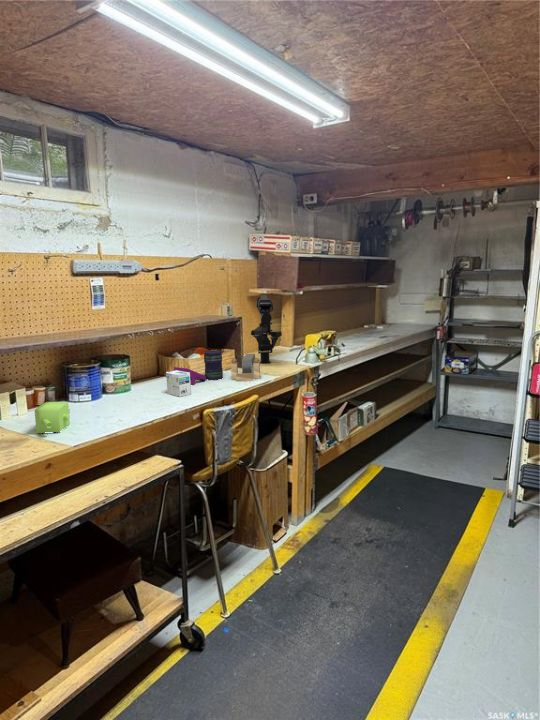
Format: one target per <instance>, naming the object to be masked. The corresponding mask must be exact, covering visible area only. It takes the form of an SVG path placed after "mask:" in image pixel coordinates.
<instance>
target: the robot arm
mask: <svg viewBox="0 0 540 720" xmlns="http://www.w3.org/2000/svg"><path fill="white" fill-rule="evenodd" d="M256 308H257V311H258V313H259V316H260V323H258V325H259V326H258V327H256V328H255V329H252V330H251V331H250V335H251V336H252V337H253V338H255V340H256V341H257V351H258V355H260V360H259V362H260V364H271V360H270V359H271V358H270V354H272V353H273V349H274V348H275V345H276V343H277V341H278V340H279V338H280V337H282V336H283V333H282V330H273V329H272V328H271V327H272V325H273V322H272V319H273V318H272V315H271V312H273V310H274V303H273V301H271V299H270V297H269V296H268V294H267V293H260V294H259V296H258V297H257V298H256ZM268 336H270V339H271V340H270V339H269V337H268Z"/></svg>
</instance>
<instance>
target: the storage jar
mask: <svg viewBox="0 0 540 720" xmlns="http://www.w3.org/2000/svg"><path fill="white" fill-rule="evenodd" d="M203 362H204V375H205V376H206V379H208V380H207V381H210V380H213V381H219V380H218V379H221V380H223V379H224V376H223V375H224V372H223V371H224V369H223V351H222V350H219V349H213V350H212V349H211V350H205V351H203ZM222 378H223V379H222ZM206 379H205V380H206Z"/></svg>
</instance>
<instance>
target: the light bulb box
mask: <svg viewBox="0 0 540 720" xmlns="http://www.w3.org/2000/svg"><path fill="white" fill-rule="evenodd" d="M165 376H166V388H167V389H166V393H167V395H171V394H172V395H171V396H174V395H175V396H176V397H178V396H179V397H180V398H181V396H182V397H186V396H189V395H192V386H191V383H190V373H189V372H183V371H178V370H176V371H173V370H171V371H166V372H165ZM185 395H186V396H185Z"/></svg>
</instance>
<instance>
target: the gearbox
mask: <svg viewBox="0 0 540 720" xmlns="http://www.w3.org/2000/svg"><path fill="white" fill-rule="evenodd" d="M69 406H70V405H69V402H68V401H45V402H44V403H42V404H40V405H39V406H37V408H35V409H34V419H35V431H36V434H37V433H45V432H60V431H61V430H62V429H64V428H65V427H66V426H67V425H68V426H69V425H70V413H71V410H70V408H69ZM68 426H67V427H68ZM67 427H66V428H67ZM66 428H65V429H66ZM65 429H64V430H65ZM60 433H61V432H60Z"/></svg>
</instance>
